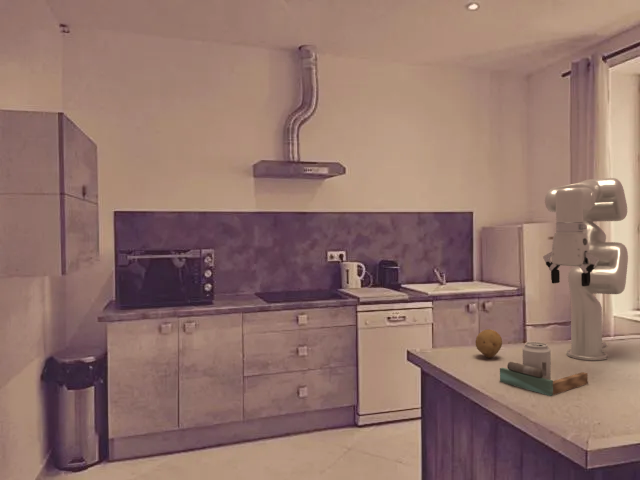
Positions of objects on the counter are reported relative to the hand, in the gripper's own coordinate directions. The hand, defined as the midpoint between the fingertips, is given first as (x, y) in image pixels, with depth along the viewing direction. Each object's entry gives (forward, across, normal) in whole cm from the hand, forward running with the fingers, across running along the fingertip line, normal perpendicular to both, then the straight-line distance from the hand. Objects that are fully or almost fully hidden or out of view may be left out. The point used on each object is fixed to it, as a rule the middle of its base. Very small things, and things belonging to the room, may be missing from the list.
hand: (570, 284), depth 160 cm
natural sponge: (+28, +28, +5) cm, 40 cm away
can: (+28, 0, +18) cm, 33 cm away
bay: (+27, 0, +14) cm, 31 cm away
